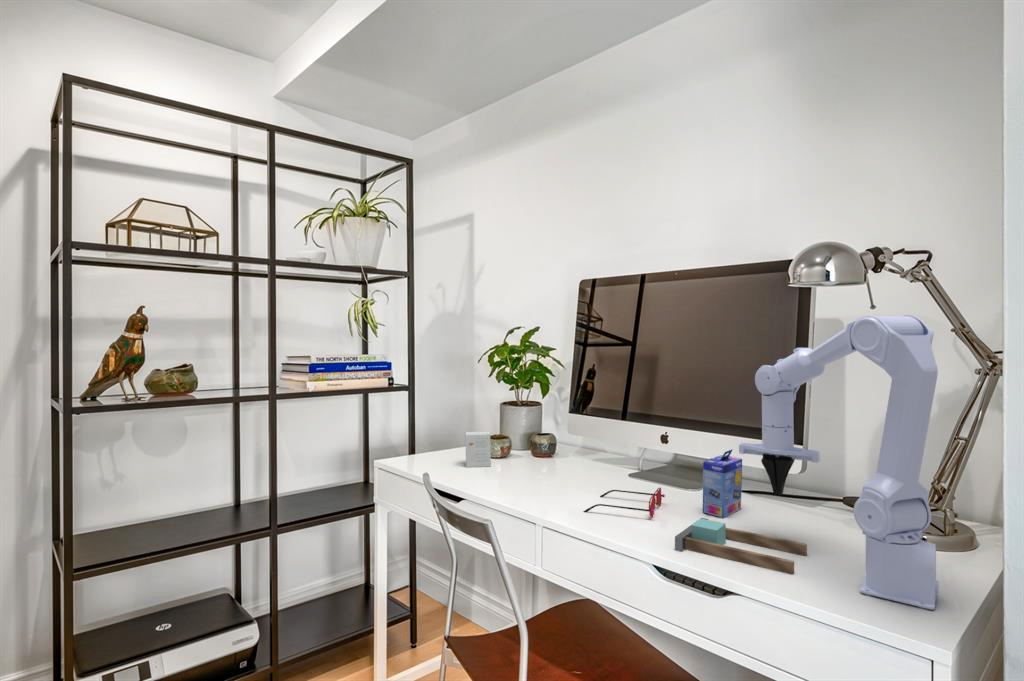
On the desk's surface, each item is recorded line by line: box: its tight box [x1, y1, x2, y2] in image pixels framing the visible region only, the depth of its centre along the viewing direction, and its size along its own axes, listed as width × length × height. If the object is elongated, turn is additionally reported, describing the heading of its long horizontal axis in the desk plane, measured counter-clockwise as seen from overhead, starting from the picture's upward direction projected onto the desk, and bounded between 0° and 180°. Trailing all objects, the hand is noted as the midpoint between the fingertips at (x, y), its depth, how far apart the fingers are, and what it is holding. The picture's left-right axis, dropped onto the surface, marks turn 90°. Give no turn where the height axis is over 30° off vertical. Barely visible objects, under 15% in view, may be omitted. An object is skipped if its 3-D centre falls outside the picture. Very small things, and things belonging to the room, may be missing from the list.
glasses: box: [583, 487, 666, 518], centre depth 135 cm, size 14×16×5 cm
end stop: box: [674, 517, 709, 552], centre depth 113 cm, size 2×14×2 cm, turn 141°
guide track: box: [685, 527, 808, 575], centre depth 107 cm, size 19×11×2 cm, turn 51°
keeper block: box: [690, 518, 727, 545], centre depth 111 cm, size 5×5×4 cm
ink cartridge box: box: [702, 449, 743, 519], centre depth 131 cm, size 10×6×14 cm, turn 135°
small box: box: [464, 430, 492, 468], centre depth 181 cm, size 8×6×10 cm
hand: (778, 493), depth 112 cm, fingers closed
